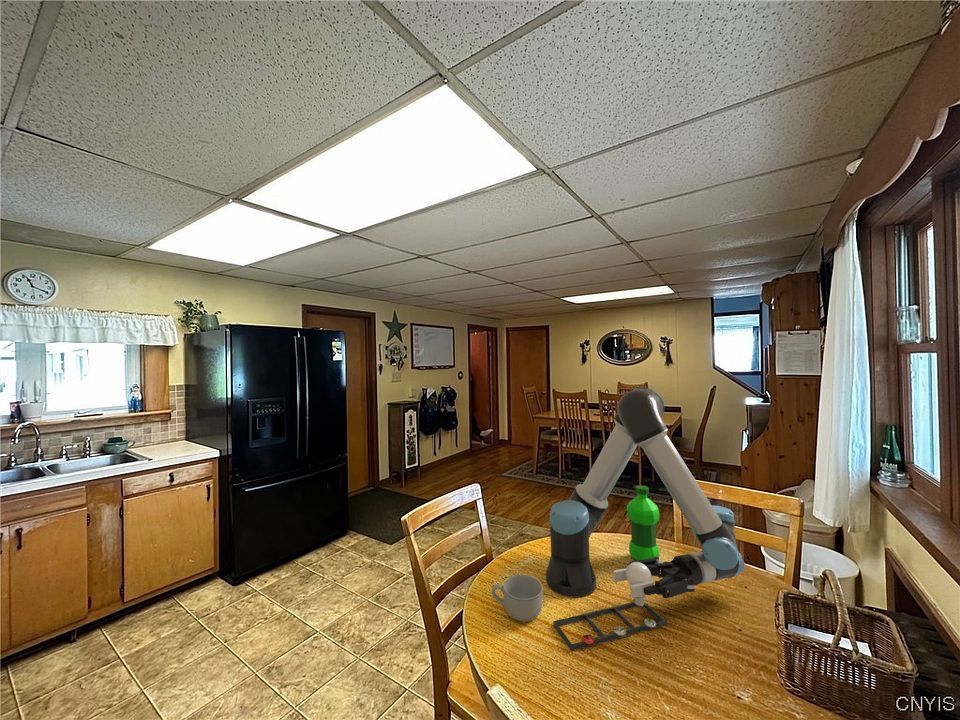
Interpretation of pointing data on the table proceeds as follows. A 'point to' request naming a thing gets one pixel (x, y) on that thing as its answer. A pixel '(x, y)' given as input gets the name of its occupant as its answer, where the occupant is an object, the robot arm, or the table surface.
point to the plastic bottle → (643, 525)
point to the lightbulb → (638, 578)
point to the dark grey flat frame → (619, 631)
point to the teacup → (520, 596)
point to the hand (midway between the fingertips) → (622, 583)
